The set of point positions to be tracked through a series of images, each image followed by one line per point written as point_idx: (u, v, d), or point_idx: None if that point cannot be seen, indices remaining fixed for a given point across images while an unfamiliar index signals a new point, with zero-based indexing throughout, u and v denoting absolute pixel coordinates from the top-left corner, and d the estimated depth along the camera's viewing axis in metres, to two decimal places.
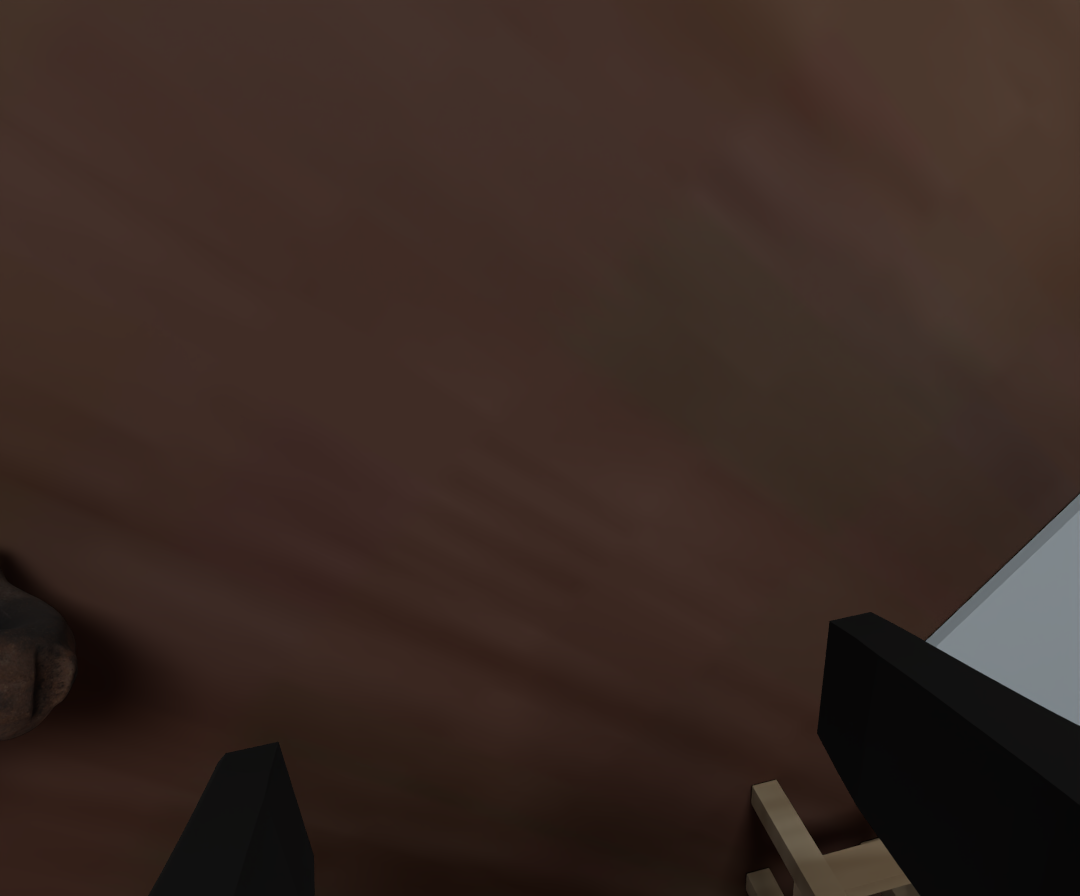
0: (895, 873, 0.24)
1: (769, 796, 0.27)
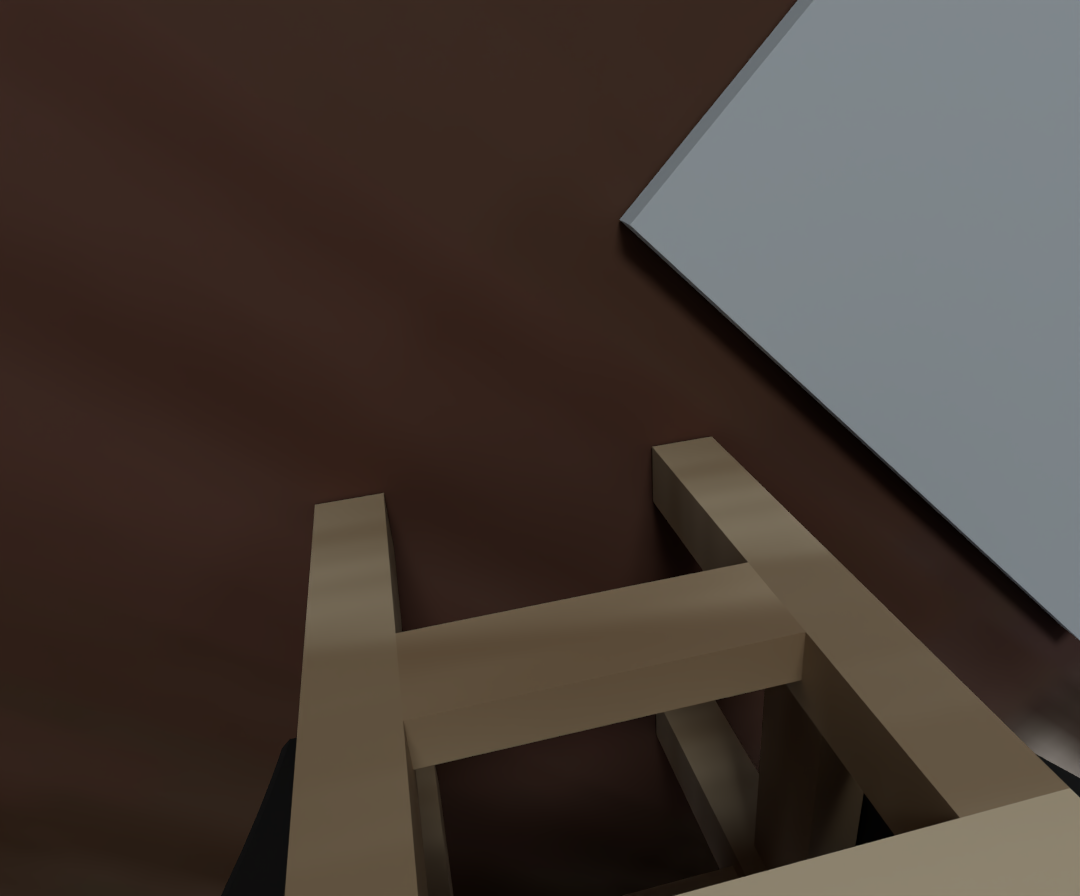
0: (596, 673, 0.07)
1: (340, 522, 0.10)
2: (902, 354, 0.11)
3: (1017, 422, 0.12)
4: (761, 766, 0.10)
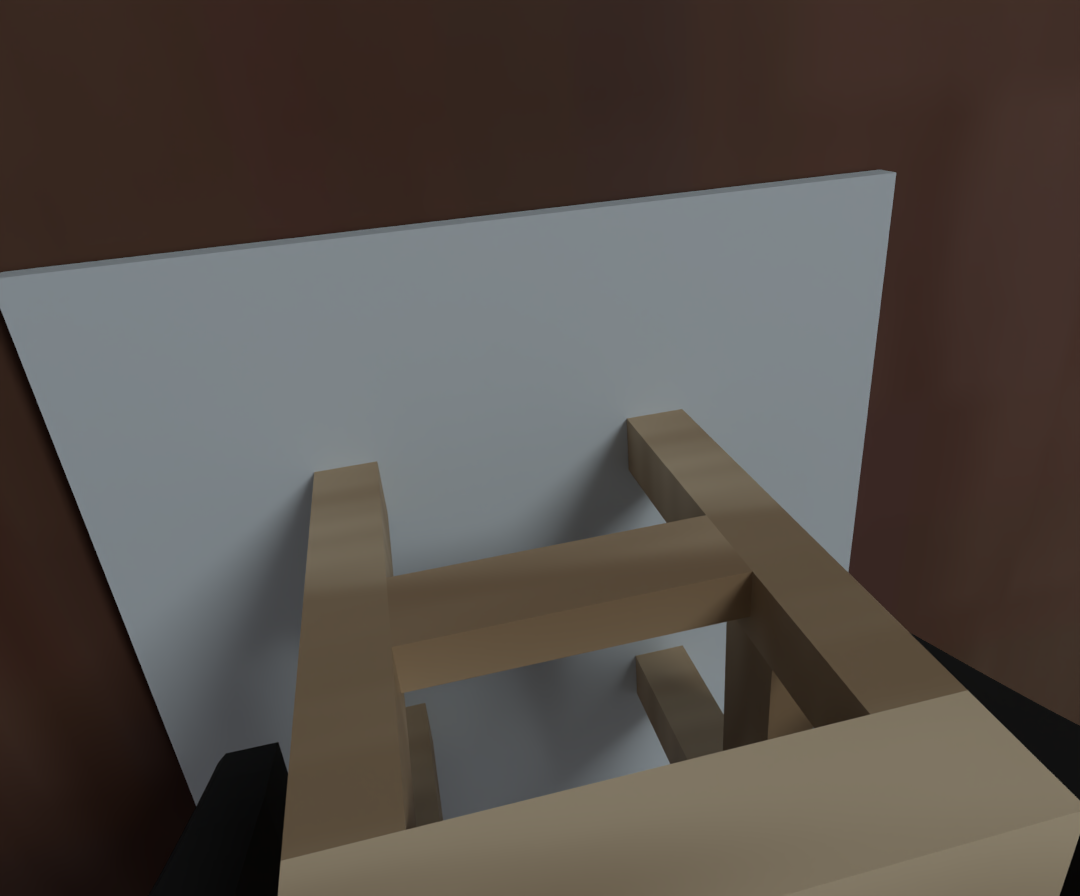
0: (563, 606, 0.08)
1: (337, 486, 0.11)
2: (193, 563, 0.11)
3: (271, 686, 0.13)
4: (725, 709, 0.11)
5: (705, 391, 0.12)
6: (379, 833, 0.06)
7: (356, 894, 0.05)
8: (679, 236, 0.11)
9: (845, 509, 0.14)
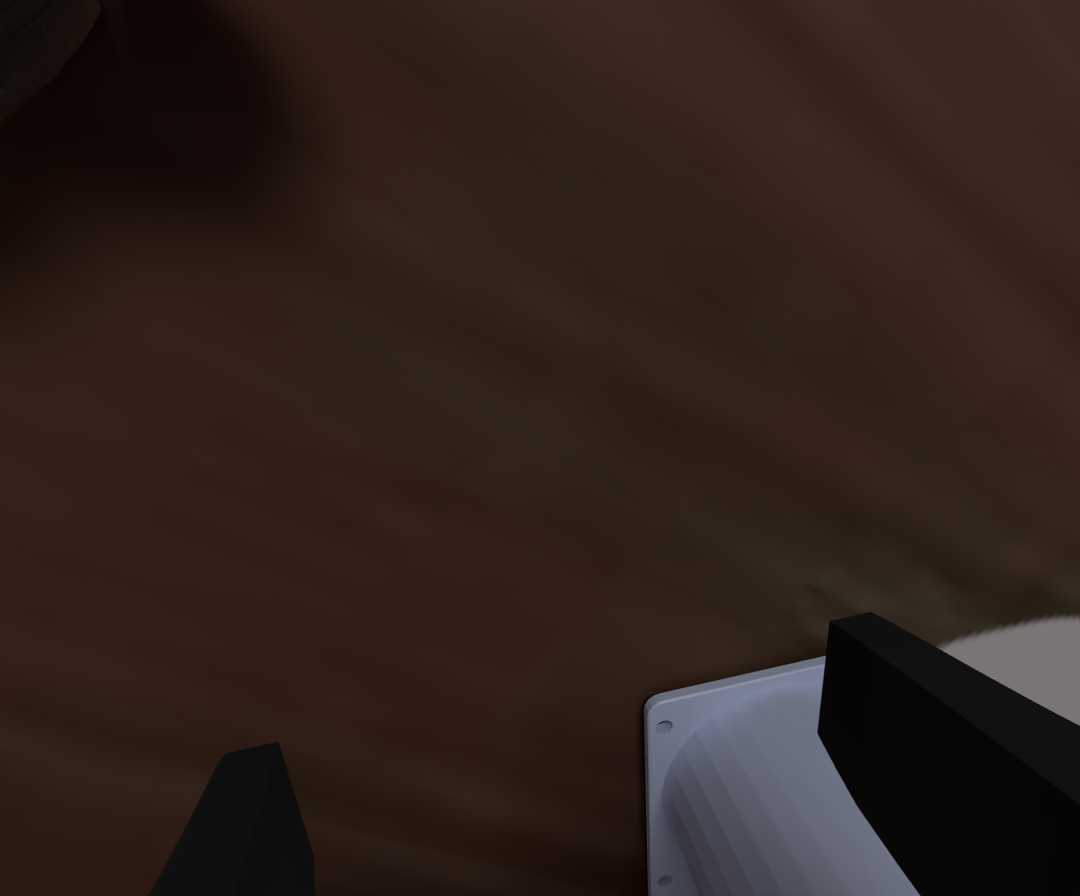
0: None
1: None
2: None
3: None
4: None
5: None
6: None
7: None
8: None
9: None
